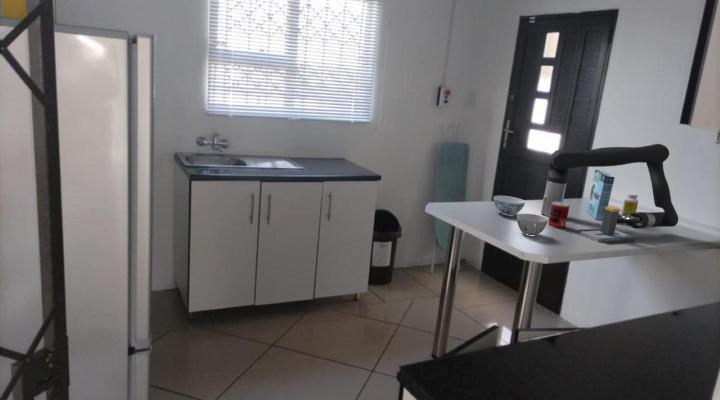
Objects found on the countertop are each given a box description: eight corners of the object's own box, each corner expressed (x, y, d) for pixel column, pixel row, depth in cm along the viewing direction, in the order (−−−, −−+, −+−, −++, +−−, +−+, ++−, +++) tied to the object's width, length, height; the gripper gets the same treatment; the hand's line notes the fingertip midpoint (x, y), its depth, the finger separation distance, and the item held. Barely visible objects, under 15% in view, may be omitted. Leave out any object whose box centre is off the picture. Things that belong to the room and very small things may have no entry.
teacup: (512, 228, 231) (515, 211, 229) (541, 232, 230) (544, 215, 228) (517, 238, 217) (520, 220, 215) (548, 242, 215) (551, 224, 213)
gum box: (585, 210, 282) (594, 169, 277) (595, 212, 282) (604, 170, 276) (594, 219, 264) (604, 175, 258) (605, 221, 263) (615, 177, 258)
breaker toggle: (606, 231, 235) (612, 206, 232) (614, 234, 231) (620, 209, 228) (600, 231, 233) (605, 206, 230) (607, 234, 229) (613, 209, 227)
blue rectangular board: (614, 232, 242) (614, 229, 241) (632, 239, 233) (633, 236, 232) (579, 234, 232) (580, 231, 232) (597, 241, 224) (598, 238, 223)
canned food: (564, 225, 246) (569, 203, 243) (565, 229, 238) (570, 206, 236) (547, 222, 248) (552, 200, 245) (547, 226, 241) (552, 203, 238)
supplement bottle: (636, 220, 273) (641, 196, 269) (622, 218, 274) (628, 194, 271) (632, 216, 279) (637, 193, 276) (619, 215, 280) (624, 192, 277)
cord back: (606, 231, 243) (607, 228, 243) (608, 232, 242) (609, 229, 242) (578, 232, 236) (578, 229, 235) (580, 233, 234) (581, 230, 234)
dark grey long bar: (632, 241, 231) (633, 238, 230) (635, 242, 230) (635, 239, 229) (603, 242, 223) (604, 239, 223) (606, 243, 222) (606, 240, 222)
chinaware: (485, 212, 256) (487, 197, 254) (502, 209, 266) (504, 194, 264) (511, 220, 246) (514, 204, 244) (528, 216, 256) (531, 201, 254)
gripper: (631, 208, 245) (605, 208, 237) (656, 216, 233) (630, 217, 226) (627, 223, 246) (601, 224, 239) (652, 232, 235) (626, 233, 227)
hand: (615, 221), depth 232 cm, fingers closed
